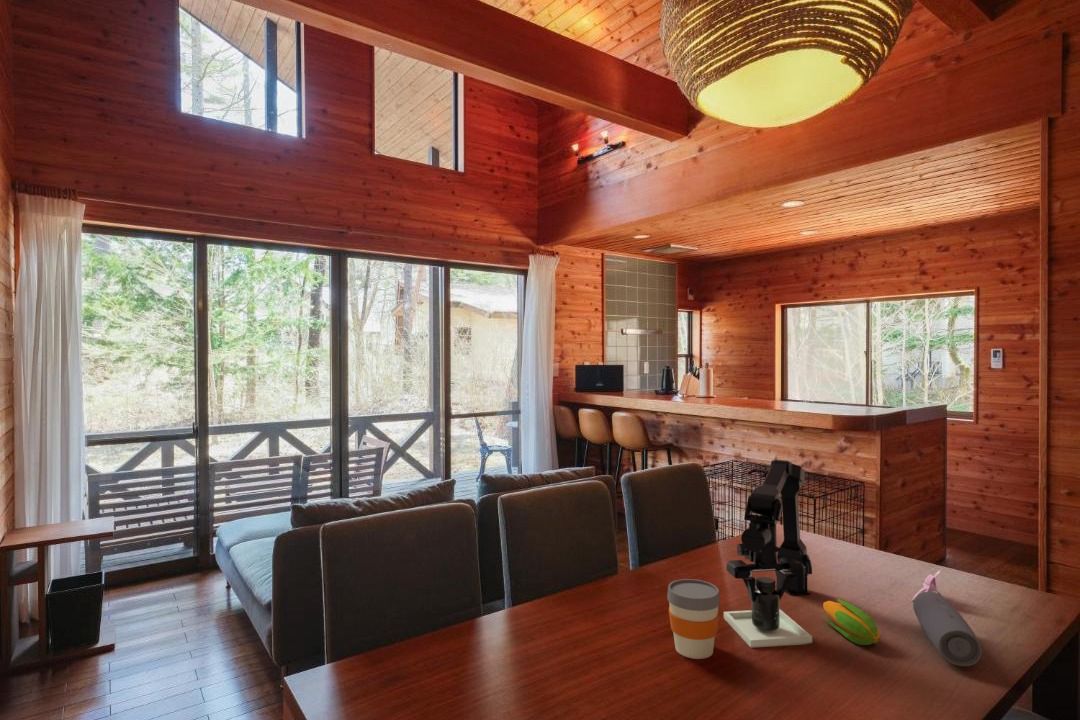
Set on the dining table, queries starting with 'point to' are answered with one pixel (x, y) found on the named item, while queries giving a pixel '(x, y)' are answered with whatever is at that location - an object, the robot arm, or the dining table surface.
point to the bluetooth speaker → (947, 629)
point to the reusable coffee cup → (693, 616)
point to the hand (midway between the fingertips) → (765, 600)
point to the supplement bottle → (765, 605)
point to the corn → (852, 622)
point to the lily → (929, 584)
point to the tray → (757, 637)
